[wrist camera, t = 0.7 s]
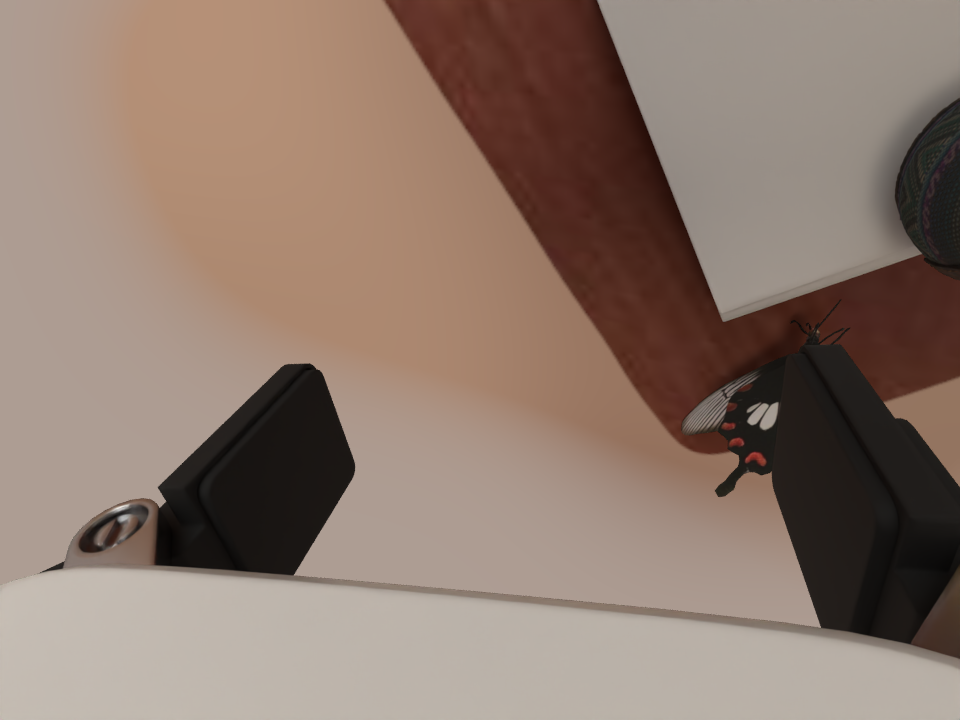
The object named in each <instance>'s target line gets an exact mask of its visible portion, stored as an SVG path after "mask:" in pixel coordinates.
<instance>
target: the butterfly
mask: <svg viewBox="0 0 960 720" xmlns="http://www.w3.org/2000/svg"><path fill="white" fill-rule="evenodd" d="M840 301H841V300H840ZM840 301H839V302H840ZM839 302H838V303H837V304H836V306H837V305H838V304H839ZM836 306H835V307H834V308H833V309H832V310H831V311H830V313H829V314H828V315H827V316H826V318H827V317H828V316H829V315H830V314H831V312H832V311H833V310H834V309H835V308H836ZM826 318H825V319H824V320H823V321H822V322H821V324H822V323H823V322H824V321H825V320H826ZM793 322H796V321H795V320H792V321H791V323H793ZM791 323H790V324H791ZM797 324H798V325H799V327H800V329H801V330H802V331H803V332H804V333H805V334H808V337H807V339H806V342H805V343H804V345H820V343H821V342H823V341H824V340H825V339H827V338H828V337H830V336H832V335H833V334H834V333H837V332H839V331H842V330H844V328H842V329H840V330H838V331H836V332H834V333H832V334H831V335H829V336H827V337H826V338H824V339H823V340H822V341H821V342H819V337H820V332H819V330H818V328H819V327H820V325H821V324H820V325H819V323H817V324H816V326H815V328H813V329H812V328H811V326H810V324H809V323H808V322H807V323H806V326H807V325H808V324H809V329H810V331H809V333H807V332H806V331H805V330H804V329H803V328H802V327H801V325H800V324H799V323H798V322H797ZM818 325H819V326H818ZM849 329H850V328H848V329H846V330H845V331H844V332H843V333H842V334H841V335H840V336H839V337H838V338H837V339H836V340H835V341H834V342H833V343H832V344H834V343H835V342H836V341H838V340H839V339H840V338H841V337H842V335H843V334H844V333H845V332H846V331H848V330H849ZM818 342H819V343H818ZM832 344H830V345H832ZM804 345H803V346H804ZM795 354H798V353H795ZM787 356H788V355H786V356H784V357H781V358H778V359H776V360H774V361H772V362H770V363H768V364H765V365H763V366H761V367H759V368H757V369H755V370H753V371H751V372H749V373H747V374H745V375H743V376H741V377H739V378H737V379H735V380H733V381H731V382H729V383H727V384H725V385H723V386H722V387H720V388H719V389H717V390H716V391H715V392H713V393H712V394H711V395H709V396H708V397H706V398H705V399H704V400H703V401H702V402H700V403H699V404H698V405H697V406H696V407H695V408H694V409H693V410H692V411H691V412H690V413H689V414H688V415H687V417H686V418H685V419H684V420H683V422H682V428H681V431H682V433H683V434H684V435H694V434H700V433H709V432H715V431H718V432H719V433H720V434H721V435H722V436H724V437H725V438H726V439H727V440H728V450H730V451H731V452H733V453H735V454H737V455H739V465H738V467H737V468H736V469H735V470H734V471H733V472H732V473H731V474H730V475H729V477H728V478H727V479H726V480H725V481H724V482H723V483H722V484H720V485H719V486H718V487H717V489H716V490H715V492H716V494H717V495H718V497H723V496H726V495H727V494H728V493H729V492H731V491H732V490H734V488H735V485H736V482H737V480H738V479H739V478H740V477H741V476H742V475H743V474H745V473H748V472H755V473H758V474H760V475H764V474H768V473H770V472H771V471H772V466H773V458H774V450H775V443H776V435H777V427H778V419H779V411H780V404H781V396H782V388H783V380H784V372H785V364H786V359H787Z"/></svg>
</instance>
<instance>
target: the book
mask: <svg viewBox="0 0 960 720" xmlns="http://www.w3.org/2000/svg"><path fill="white" fill-rule="evenodd" d="M597 2H598V4H599V7H600V9H601V12H602V14H603V17H604V19H605V22H606V25H607V27H608V30H609V32H610V35H611V37H612V40H613V42H614V45H615V48H616V50H617V53H618V55H619V58H620V60H621V63H622V65H623V68H624V71H625V73H626V76H627V78H628V81H629V83H630V86H631V88H632V91H633V94H634V96H635V99H636V101H637V104H638V106H639V109H640V111H641V114H642V117H643V119H644V122H645V124H646V127H647V129H648V132H649V134H650V137H651V140H652V142H653V145H654V147H655V150H656V152H657V155H658V157H659V160H660V163H661V165H662V168H663V170H664V173H665V175H666V178H667V181H668V183H669V186H670V188H671V191H672V193H673V196H674V198H675V201H676V204H677V206H678V209H679V211H680V214H681V216H682V219H683V221H684V224H685V227H686V229H687V232H688V234H689V237H690V239H691V242H692V244H693V247H694V250H695V252H696V255H697V257H698V260H699V262H700V265H701V267H702V270H703V273H704V275H705V278H706V280H707V283H708V285H709V288H710V290H711V293H712V296H713V298H714V301H715V303H716V306H717V308H718V311H719V313H720V316H721V318H722V321H723V322H726V321H729V320H732V319H734V318H737V317H740V316H743V315H746V314H749V313H752V312H755V311H758V310H761V309H763V308H766V307H769V306H772V305H775V304H778V303H781V302H784V301H787V300H790V299H792V298H795V297H798V296H801V295H804V294H807V293H810V292H813V291H816V290H819V289H821V288H824V287H827V286H830V285H833V284H836V283H839V282H842V281H845V280H848V279H850V278H853V277H856V276H859V275H862V274H865V273H868V272H871V271H874V270H877V269H879V268H882V267H885V266H888V265H891V264H894V263H897V262H900V261H903V260H906V259H908V258H911V257H914V256H917V255H920V254H922V253H921V252H920V251H919V250H918V249H917V248H916V246H915V245H914V244H913V243H912V241H911V240H910V237H909V236H908V235H907V233H906V231H905V229H904V227H903V224H902V221H901V220H899V219H900V214H899V212H898V209H897V205H896V201H895V198H894V197H895V187H896V181H897V176H898V173H899V172H900V166H901V164H902V162H903V160H904V157H905V156H906V154H907V151H908V149H909V148H910V147H911V145H912V143H913V142H914V139H915V138H916V137H917V135H918V134H919V133H921V132H922V130H923V128H925V126H926V125H927V124H928V123H929V122H930V121H931V120H932V118H933V117H935V116H936V115H937V113H939V112H940V111H941V110H942V109H943V108H945V107H947V106H948V105H949V104H951V103H952V102H954V101H955V100H957V99H958V98H960V0H597Z"/></svg>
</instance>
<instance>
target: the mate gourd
mask: <svg viewBox="0 0 960 720" xmlns="http://www.w3.org/2000/svg"><path fill="white" fill-rule="evenodd" d="M894 198H895V201H896V205H897V209H898V212H899V214H900V219H899V220H901V221H902V224H903V227H904V229H905V231H906V233H907V235H908V236H909V237H910V240H911V241H912V243H913V244H914V245H915V246H916V248H917V249H918V250H919V251H920V252H921V253H922V254H923V255H924V256H925V257H926V258H924V261H926V263H928V264H930V266H931V267H934V268H935V269H937V270H938V271H939V272H941V273H942V274H944V275H946V276H949V277H951V278H953V279H956V280H960V98H958V99H957V100H955V101H954V102H952V103H951V104H949V105H948V106H947V107H945V108H943V109H942V110H941V111H940V112H939V113H937V115H936V116H935V117H933V118H932V120H931V121H930V122H929V123H928V124H927V125H926V126H925V128H923V130H922V132H921V133H919V134H918V135H917V137H916V138H915V139H914V142H913V143H912V145H911V147H910V148H909V149H908V151H907V154H906V156H905V157H904V160H903V162H902V164H901V166H900V172H899V173H898V176H897V181H896V187H895V197H894Z"/></svg>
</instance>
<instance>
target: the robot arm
mask: <svg viewBox="0 0 960 720" xmlns="http://www.w3.org/2000/svg"><path fill="white" fill-rule="evenodd" d="M354 472H355V463H354V459H353V456H352V454H351V451H350V448H349V446H348V442H347V440H346V437H345V434H344V431H343V429H342V426H341V423H340V421H339V418H338V415H337V412H336V409H335V406H334V404H333V401H332V398H331V395H330V393H329V390H328V387H327V384H326V382H325V379H324V376H323V374H322V372H320V370H316V368H315V367H314V366H313V365H311V364H287V365H284V366H283V367H281V368H280V369H279V370H278V371H277V372H276V373H275V374H274V375H273V376H272V377H271V378H270V379H269V380H268V381H267V382H266V383H265V384H264V385H263V386H262V387H261V388H260V389H259V390H258V391H257V392H256V393H254V395H252V396H251V397H250V398H249V399H248V400H247V401H246V402H245V403H244V404H243V405H242V406H241V407H240V408H239V409H238V410H237V411H236V412H235V413H234V414H233V415H232V416H231V417H230V418H229V419H228V420H227V421H226V422H225V423H224V424H222V425H221V426H220V427H219V429H217V430H216V431H215V432H214V433H213V434H212V435H211V436H210V437H209V438H208V439H207V440H206V441H205V442H204V443H203V444H202V445H201V446H200V447H199V448H198V449H197V450H196V451H195V452H194V453H193V454H192V455H191V456H189V457H188V458H187V459H186V460H185V461H184V462H183V463H182V465H180V466H179V467H178V468H177V469H176V470H175V471H174V472H173V473H172V474H171V475H170V476H169V477H168V478H167V479H166V480H165V481H164V482H163V483H162V484H161V485H160V486H159V487H158V489H159V490H160V492H161V493H162V495H163V497H164V498H165V500H166V503H164V504H163V505H162V507H161V508H159V506H158V505H157V503H155V502H154V501H153V500H151V499H144V498H141V499H134V500H129V501H126V502H123V503H120V504H117V505H115V506H113V507H111V508H109V509H107V510H105V511H103V512H102V513H100V514H99V515H97V516H96V517H94V518H92V519H91V520H90V521H89V522H88V523H87V524H85V525H84V526H83V527H82V528H81V529H80V530H79V531H78V532H77V534H76V535H75V536H74V537H73V539H72V541H71V543H70V545H69V548H68V551H67V555H66V559H65V561H64V562H62V563H60V564H58V565H56V566H53V567H51V568H49V569H47V570H45V571H43V572H40V573H38V574H35V575H31V576H28V577H24V578H20V579H16V580H14V581H11V582H8V583H5V584H2V585H0V720H960V487H959V486H958V484H957V483H956V482H955V480H954V479H953V478H952V476H951V475H950V474H949V473H948V471H947V470H946V468H945V467H944V466H943V465H942V463H941V462H940V461H939V459H938V458H937V457H936V455H935V454H934V453H933V452H932V450H931V449H930V448H929V446H928V445H927V444H926V442H925V441H924V440H923V438H922V437H921V436H920V434H919V433H918V432H917V431H916V429H915V428H914V427H913V426H912V425H911V424H910V423H909V422H908V421H907V420H904V419H901V418H900V419H898V418H897V419H895V418H894V417H893V415H892V414H891V412H890V411H889V410H888V409H887V407H886V406H885V404H884V403H883V401H882V400H881V399H880V397H879V396H878V395H877V393H876V392H875V390H874V389H873V388H872V386H871V385H870V384H869V382H868V381H867V379H866V378H865V377H864V375H863V374H862V373H861V371H860V370H859V369H858V367H857V366H856V364H855V363H854V362H853V360H852V359H851V358H850V356H849V355H848V353H847V352H846V351H845V349H844V348H843V347H842V346H841V345H840V344H832V345H804V346H801V347H800V349H799V351H798V354H789V355H788V356H787V359H786V364H785V372H784V380H783V388H782V396H781V404H780V411H779V419H778V427H777V435H776V443H775V450H774V458H773V466H772V482H773V489H774V492H775V495H776V498H777V501H778V504H779V507H780V509H781V512H782V515H783V518H784V521H785V524H786V527H787V530H788V533H789V535H790V539H791V541H792V544H793V547H794V550H795V553H796V556H797V559H798V562H799V564H800V568H801V570H802V573H803V576H804V579H805V582H806V585H807V588H808V591H809V593H810V597H811V599H812V602H813V605H814V608H815V611H816V614H817V617H818V620H819V623H820V626H821V628H818V627H811V626H804V625H798V624H791V623H784V622H774V621H766V620H757V619H748V618H738V617H729V616H721V615H711V614H703V613H693V612H685V611H676V610H666V609H655V608H646V607H645V608H644V607H635V606H625V605H614V604H604V603H603V604H602V603H592V602H583V601H572V600H562V599H551V598H541V597H530V596H519V595H508V594H498V593H486V592H476V591H464V590H454V589H443V588H431V587H420V586H409V585H398V584H386V583H374V582H363V581H352V580H340V579H329V578H317V577H304V576H293V575H294V574H295V572H296V570H297V569H298V567H299V566H300V564H301V562H302V561H303V559H304V557H305V555H306V554H307V552H308V551H309V549H310V547H311V546H312V544H313V543H314V541H315V539H316V537H317V536H318V534H319V533H320V531H321V529H322V528H323V526H324V524H325V523H326V521H327V519H328V518H329V516H330V515H331V513H332V511H333V510H334V508H335V506H336V505H337V503H338V501H339V500H340V498H341V496H342V495H343V493H344V492H345V490H346V488H347V487H348V485H349V483H350V482H351V480H352V478H353V476H354Z"/></svg>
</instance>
